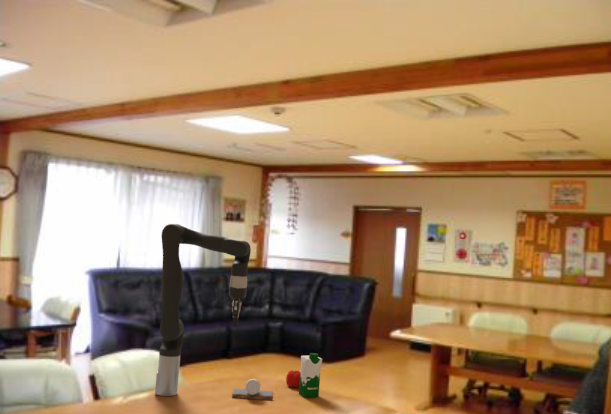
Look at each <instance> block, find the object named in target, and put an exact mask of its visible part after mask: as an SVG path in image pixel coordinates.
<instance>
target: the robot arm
mask: <svg viewBox="0 0 611 414" xmlns="http://www.w3.org/2000/svg"><path fill="white" fill-rule="evenodd" d="M182 244H183V245H193V246H197V247H200V248H203V249H206V250H209V251H212V252H217V253H222V254H226V255H230V256H233V257H234V259H233V260H234V261H233V263H232V265H231V272H230V280H229V288H228V289H229V291H228V296H229V297H230V298H233V300H232V302H231V306H232V307H231V312H232V326H233V327H238V325H239V324H238V323H239V317H240V312H241V306H242V303H243V302H242V300H241V299H244V298H246V297H247V289H248V288H247V287H248V269H249V268H248V266H249V262H250V258H251V254H252V253H251V251H252V250H251V245H250V243H249V242H248V241H245V240H237V239H231V238H228V237H225V236H221V235H217V234H212V233H205V232H200V231H196V230H194V229H190V228H188V227H185V226H183V225H181V224H178V223H169V224H166V225H165V226H164V227H163V229H162V231H161V245H162V248H161V249H162V267H161V268H162V269H161V270H162V272H161V316H160V317H161V318H160V319H161V320H160V325H159V333H160V336H161V337H162V340H161V345H160V347H159V354H158V367H157V372H156V377H155V387H154V388H155V389H154V395H157V396H161V397H174V396H176V395H177V394H178V389H179V388H178V387H179V377H180V376H179V374H180V365H181V353H182V352H181V351H182V348H183V341H184V335H185V333H184V332H185V327H184V326H185V325H184V322H183V320H182V319H180V315H179V314H180V313H179V310H180V303H181V299H182V294H183V288H184V271H183V267H182V264H181V260H180V245H182Z"/></svg>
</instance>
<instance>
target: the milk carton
mask: <svg viewBox="0 0 611 414" xmlns="http://www.w3.org/2000/svg"><path fill="white" fill-rule="evenodd" d="M300 363H301V364H300V372H301V375H300V387H298V389H299V390H298V395H300V396H301V397H303V398H304V399H311V398H314V399H315V398H319V394H320V381H321V371H322V369H321V368H322V363H323V358H321V357H319V353H316V352H310V353H309V355H301V356H300Z"/></svg>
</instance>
